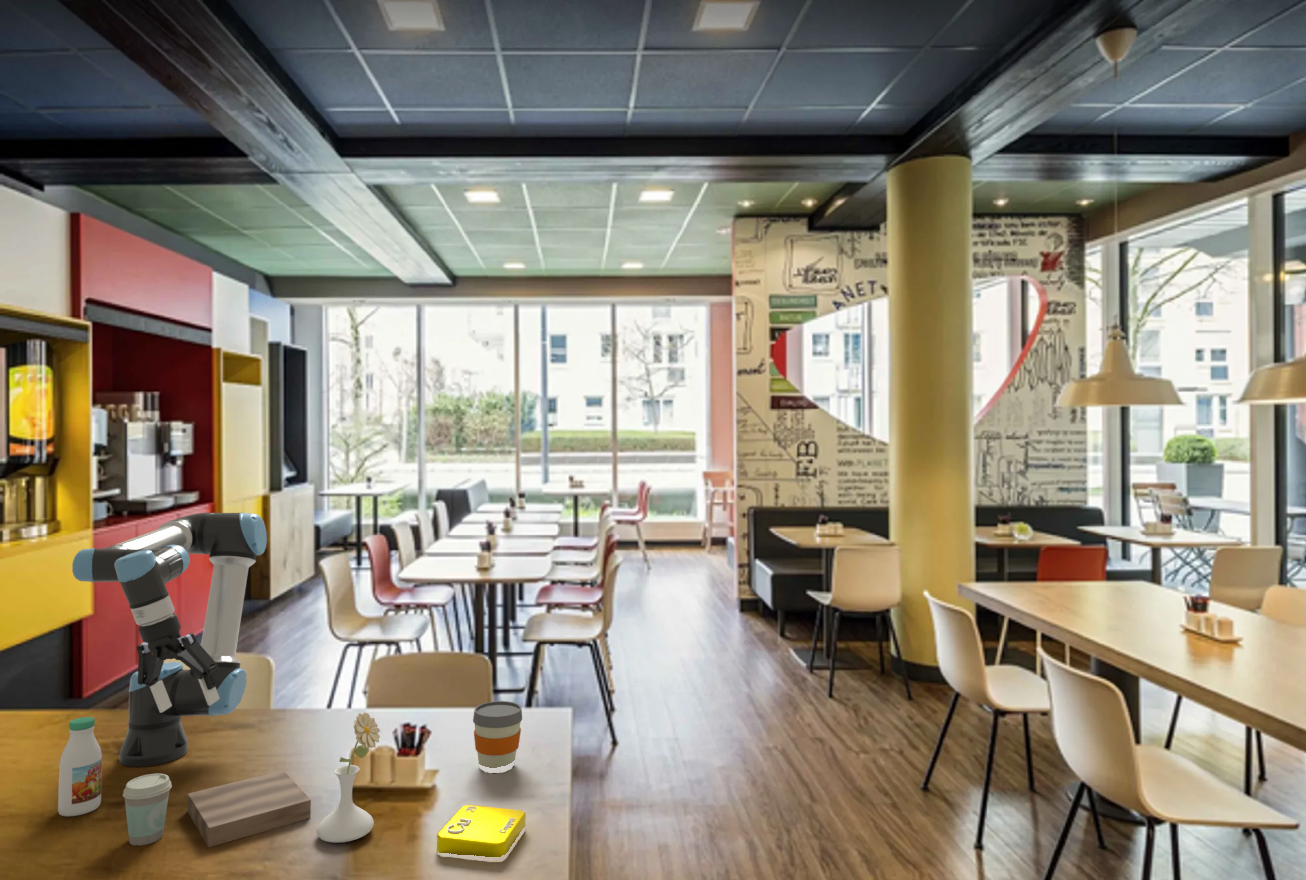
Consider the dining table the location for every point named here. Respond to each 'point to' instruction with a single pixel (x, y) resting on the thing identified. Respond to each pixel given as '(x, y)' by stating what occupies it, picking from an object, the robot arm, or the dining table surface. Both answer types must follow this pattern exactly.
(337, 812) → the flower in vase
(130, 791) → the coffee cup
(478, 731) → the reusable coffee cup
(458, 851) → the element tile
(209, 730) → the dining table surface
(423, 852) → the dining table surface
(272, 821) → the walnut base
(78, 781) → the milk bottle
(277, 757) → the dining table surface
